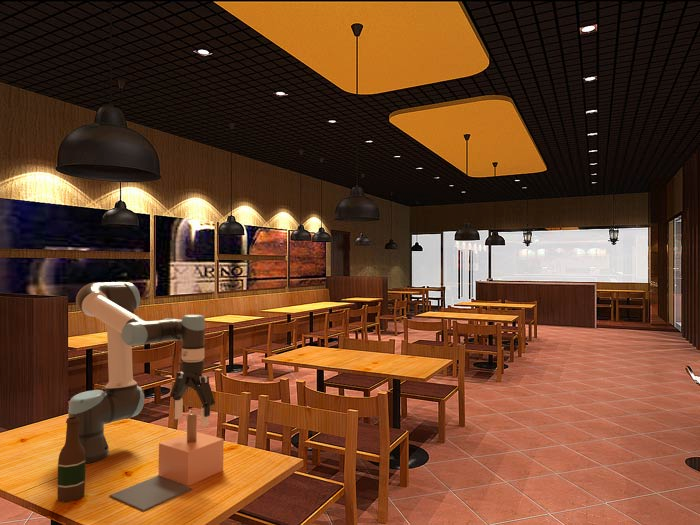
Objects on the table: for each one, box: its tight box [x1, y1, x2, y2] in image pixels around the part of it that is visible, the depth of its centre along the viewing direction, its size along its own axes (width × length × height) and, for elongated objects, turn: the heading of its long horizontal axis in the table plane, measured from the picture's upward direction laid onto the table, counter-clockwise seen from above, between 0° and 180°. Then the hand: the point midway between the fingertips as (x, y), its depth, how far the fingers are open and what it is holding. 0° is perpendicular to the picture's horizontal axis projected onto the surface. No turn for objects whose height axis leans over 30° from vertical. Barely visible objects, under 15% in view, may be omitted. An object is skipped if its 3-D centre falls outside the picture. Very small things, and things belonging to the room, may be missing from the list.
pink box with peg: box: [157, 412, 225, 487], centre depth 168 cm, size 15×15×20 cm
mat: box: [109, 475, 193, 512], centre depth 152 cm, size 17×17×1 cm
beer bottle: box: [56, 417, 86, 503], centre depth 150 cm, size 8×8×24 cm
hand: (191, 422), depth 168 cm, fingers open, 13 cm apart
